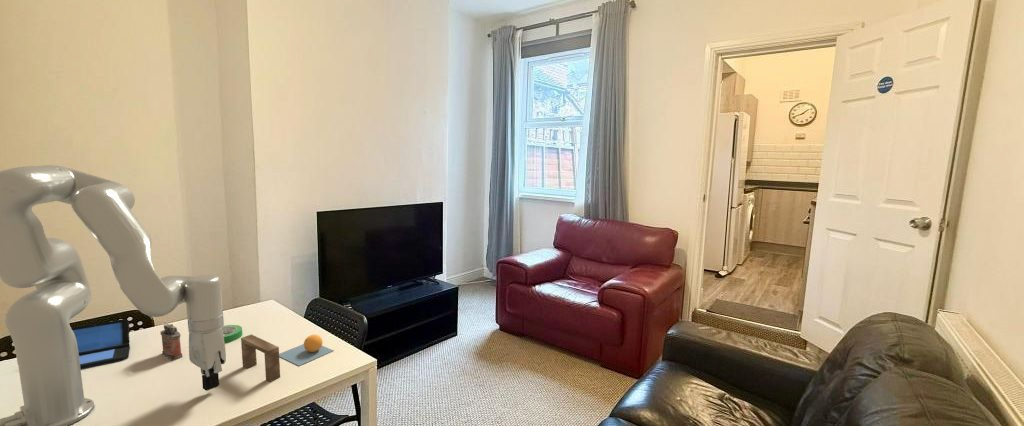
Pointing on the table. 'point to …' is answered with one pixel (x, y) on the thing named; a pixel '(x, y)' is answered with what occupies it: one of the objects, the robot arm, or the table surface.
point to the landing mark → (303, 354)
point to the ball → (313, 343)
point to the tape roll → (232, 333)
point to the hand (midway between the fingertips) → (211, 387)
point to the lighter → (171, 342)
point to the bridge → (270, 352)
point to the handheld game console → (102, 342)
